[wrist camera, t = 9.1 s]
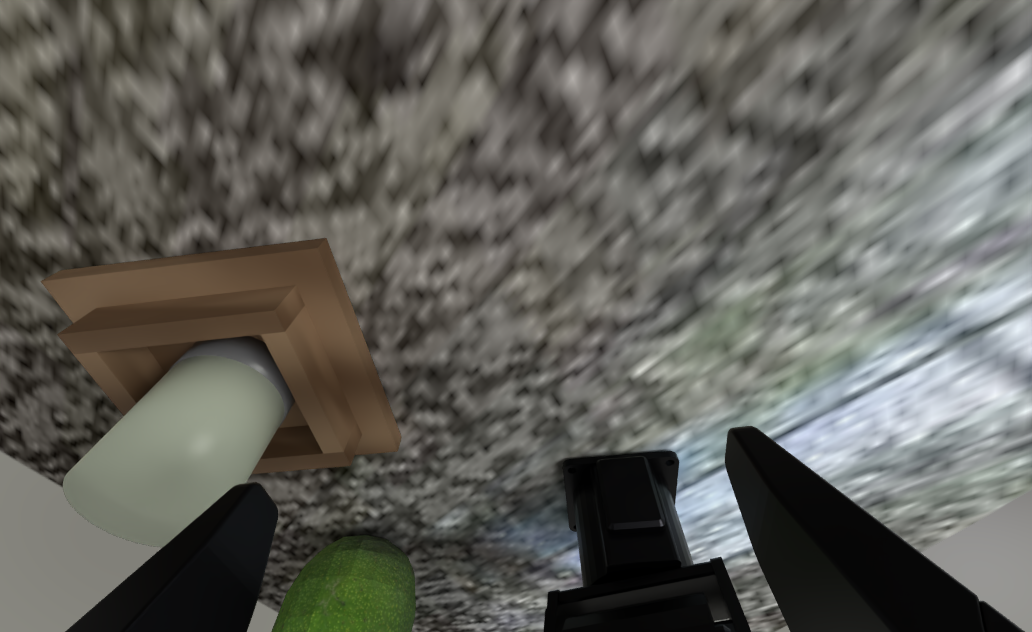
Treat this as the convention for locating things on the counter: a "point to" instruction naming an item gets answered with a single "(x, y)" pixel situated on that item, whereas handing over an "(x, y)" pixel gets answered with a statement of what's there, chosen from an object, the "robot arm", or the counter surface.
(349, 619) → the avocado
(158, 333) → the holder
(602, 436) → the counter surface
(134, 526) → the white rounded cylinder
